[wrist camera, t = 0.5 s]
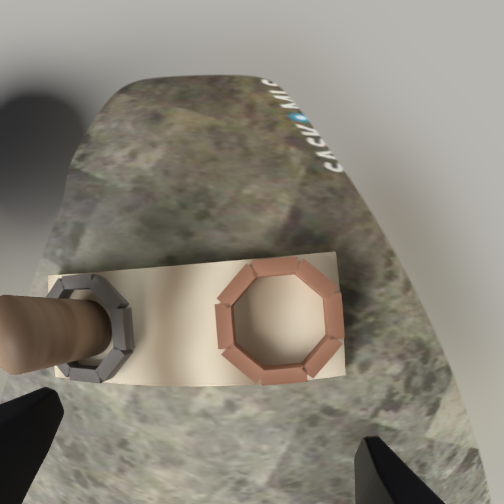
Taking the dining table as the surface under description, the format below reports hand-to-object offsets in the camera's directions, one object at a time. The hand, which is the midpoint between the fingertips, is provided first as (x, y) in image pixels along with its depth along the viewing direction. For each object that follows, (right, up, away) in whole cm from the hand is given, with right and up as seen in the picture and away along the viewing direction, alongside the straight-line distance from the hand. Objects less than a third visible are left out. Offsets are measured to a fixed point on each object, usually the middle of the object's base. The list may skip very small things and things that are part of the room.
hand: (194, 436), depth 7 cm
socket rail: (-4, -1, +15) cm, 16 cm away
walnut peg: (-11, -1, +14) cm, 18 cm away
